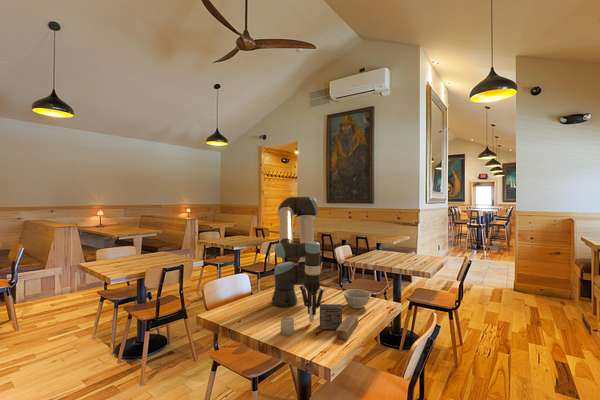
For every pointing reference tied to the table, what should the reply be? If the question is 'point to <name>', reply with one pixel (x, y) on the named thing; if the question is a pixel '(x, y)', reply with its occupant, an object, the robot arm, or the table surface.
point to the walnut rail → (346, 328)
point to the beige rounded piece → (287, 326)
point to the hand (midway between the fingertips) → (311, 320)
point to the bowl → (357, 297)
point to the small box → (330, 316)
